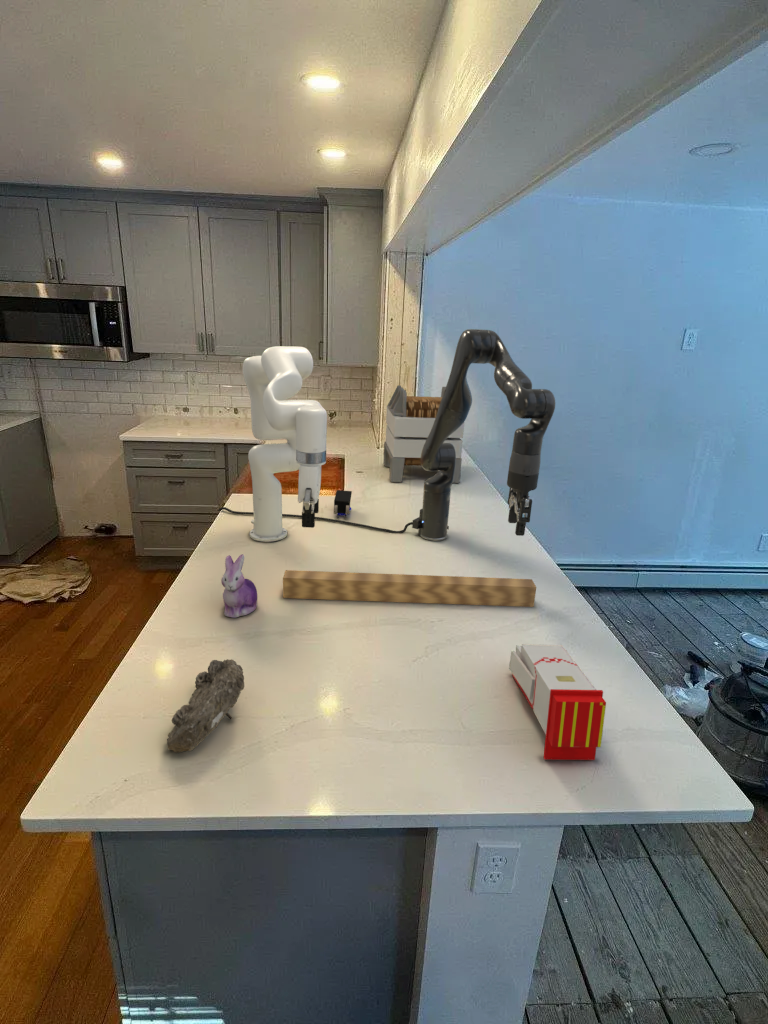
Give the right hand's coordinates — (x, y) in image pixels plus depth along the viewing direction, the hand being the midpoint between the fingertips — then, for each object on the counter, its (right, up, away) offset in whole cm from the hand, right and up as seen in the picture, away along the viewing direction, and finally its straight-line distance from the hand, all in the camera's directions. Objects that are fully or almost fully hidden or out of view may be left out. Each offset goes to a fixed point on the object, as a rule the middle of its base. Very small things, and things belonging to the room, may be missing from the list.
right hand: (515, 528), depth 148 cm
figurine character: (-50, +4, +68) cm, 85 cm away
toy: (-2, -36, -34) cm, 49 cm away
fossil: (-67, -35, -40) cm, 86 cm away
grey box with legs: (-17, +23, +127) cm, 130 cm away
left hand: (-54, +2, -1) cm, 54 cm away
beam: (-28, -19, +7) cm, 35 cm away
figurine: (-72, -21, -2) cm, 74 cm away
